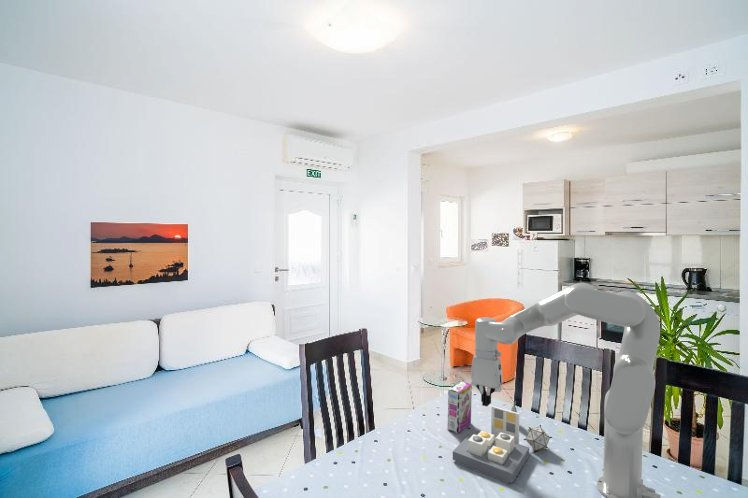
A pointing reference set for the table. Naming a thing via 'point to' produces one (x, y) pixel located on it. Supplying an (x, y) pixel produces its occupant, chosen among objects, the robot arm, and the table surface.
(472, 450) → the button
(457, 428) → the candy bar box
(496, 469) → the board
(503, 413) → the card
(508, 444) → the button
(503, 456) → the button
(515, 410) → the pocket watch
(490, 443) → the button
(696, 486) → the table surface
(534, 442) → the game die
